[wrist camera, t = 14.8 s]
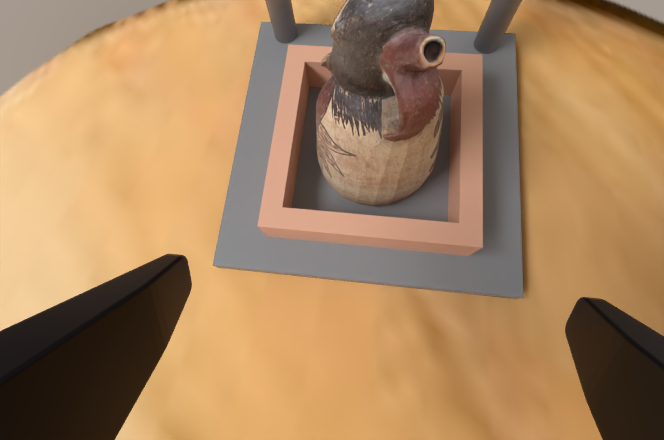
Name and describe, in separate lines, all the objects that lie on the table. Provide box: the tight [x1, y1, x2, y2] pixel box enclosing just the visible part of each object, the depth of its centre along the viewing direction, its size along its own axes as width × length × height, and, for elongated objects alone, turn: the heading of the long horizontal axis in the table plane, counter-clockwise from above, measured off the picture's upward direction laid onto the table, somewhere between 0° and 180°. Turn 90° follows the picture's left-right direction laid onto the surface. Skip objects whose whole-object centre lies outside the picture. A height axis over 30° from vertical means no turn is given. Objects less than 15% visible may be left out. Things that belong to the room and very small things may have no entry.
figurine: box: [316, 0, 446, 206], centre depth 17 cm, size 7×7×12 cm
